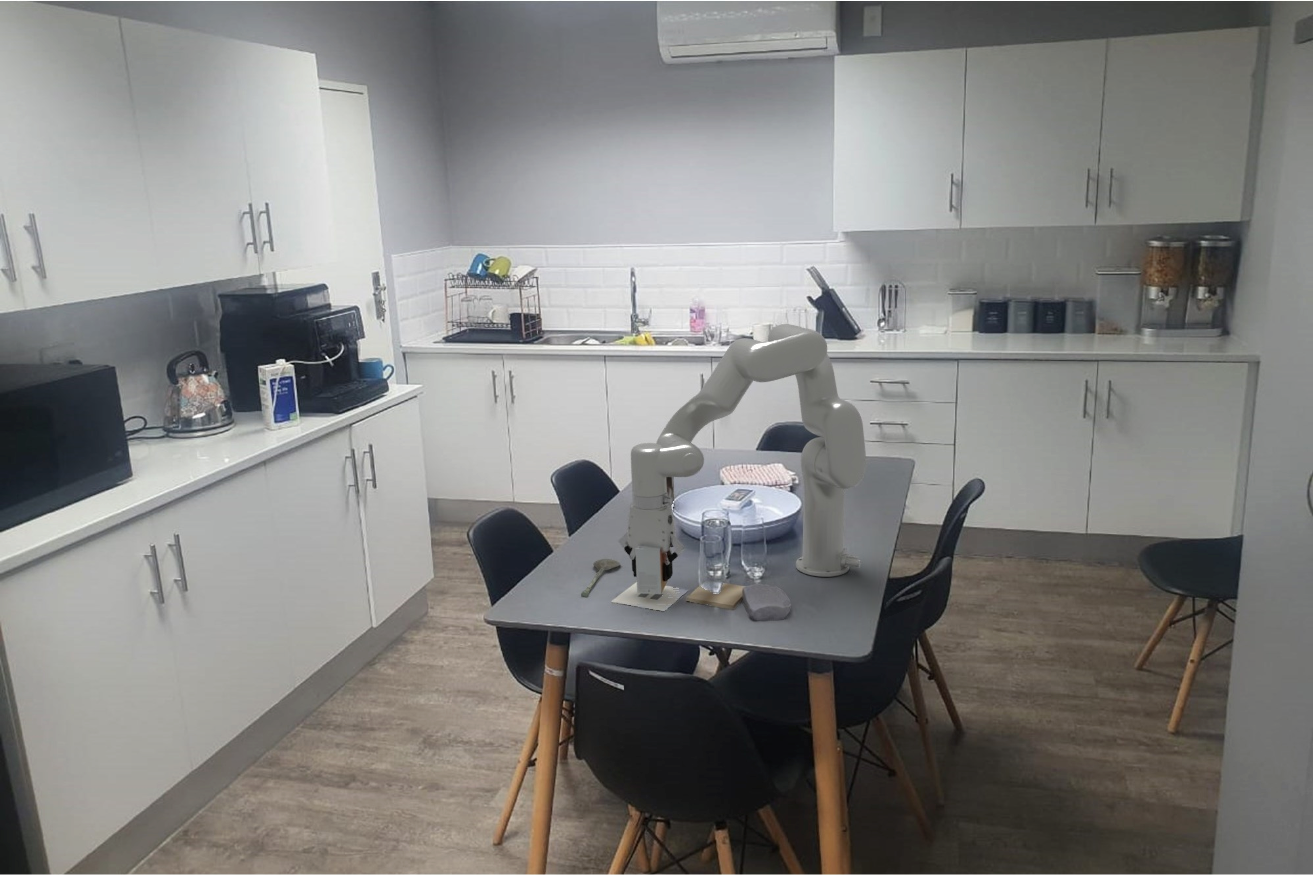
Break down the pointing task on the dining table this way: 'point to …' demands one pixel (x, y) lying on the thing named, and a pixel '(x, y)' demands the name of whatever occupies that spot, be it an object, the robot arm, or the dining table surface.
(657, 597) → the cream tile
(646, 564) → the small box
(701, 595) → the wooden board
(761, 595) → the stone block
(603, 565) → the soupspoon
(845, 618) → the dining table surface
